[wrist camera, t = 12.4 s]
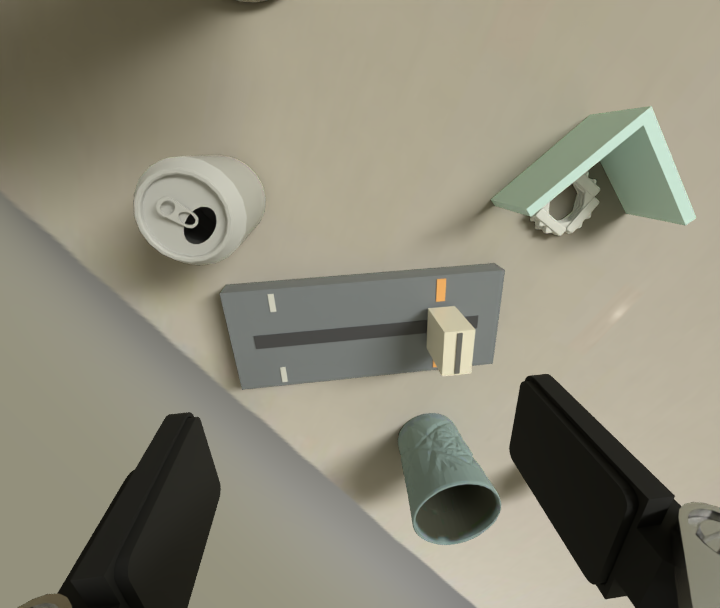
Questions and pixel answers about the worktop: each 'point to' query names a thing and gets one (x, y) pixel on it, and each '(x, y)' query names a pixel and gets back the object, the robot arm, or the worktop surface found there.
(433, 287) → the fader console
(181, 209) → the can
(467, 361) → the fader tab
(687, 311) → the worktop surface
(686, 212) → the right angle wall
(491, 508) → the teal embossed cup
